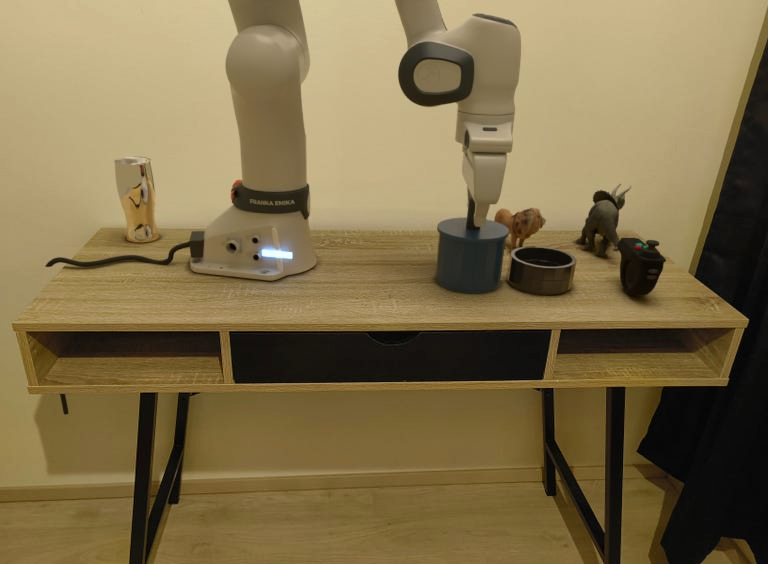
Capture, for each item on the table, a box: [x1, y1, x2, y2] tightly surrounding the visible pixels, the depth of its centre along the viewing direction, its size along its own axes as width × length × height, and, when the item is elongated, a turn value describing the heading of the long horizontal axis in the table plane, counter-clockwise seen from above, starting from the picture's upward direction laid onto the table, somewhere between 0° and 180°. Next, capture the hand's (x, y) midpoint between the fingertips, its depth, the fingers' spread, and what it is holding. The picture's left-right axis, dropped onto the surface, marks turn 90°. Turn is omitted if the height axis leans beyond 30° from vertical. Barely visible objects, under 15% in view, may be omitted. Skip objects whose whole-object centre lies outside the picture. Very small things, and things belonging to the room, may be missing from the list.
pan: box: [506, 245, 578, 296], centre depth 117 cm, size 11×11×5 cm
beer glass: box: [113, 156, 160, 244], centre depth 130 cm, size 7×7×15 cm
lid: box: [436, 199, 510, 243], centre depth 113 cm, size 12×12×6 cm
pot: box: [435, 232, 507, 294], centre depth 116 cm, size 11×11×9 cm
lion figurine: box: [493, 207, 547, 253], centre depth 134 cm, size 15×5×9 cm, turn 34°
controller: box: [617, 237, 667, 296], centre depth 114 cm, size 4×12×10 cm, turn 2°
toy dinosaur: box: [575, 183, 632, 259], centre depth 133 cm, size 22×8×11 cm, turn 160°
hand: (475, 217), depth 113 cm, fingers open, 8 cm apart
